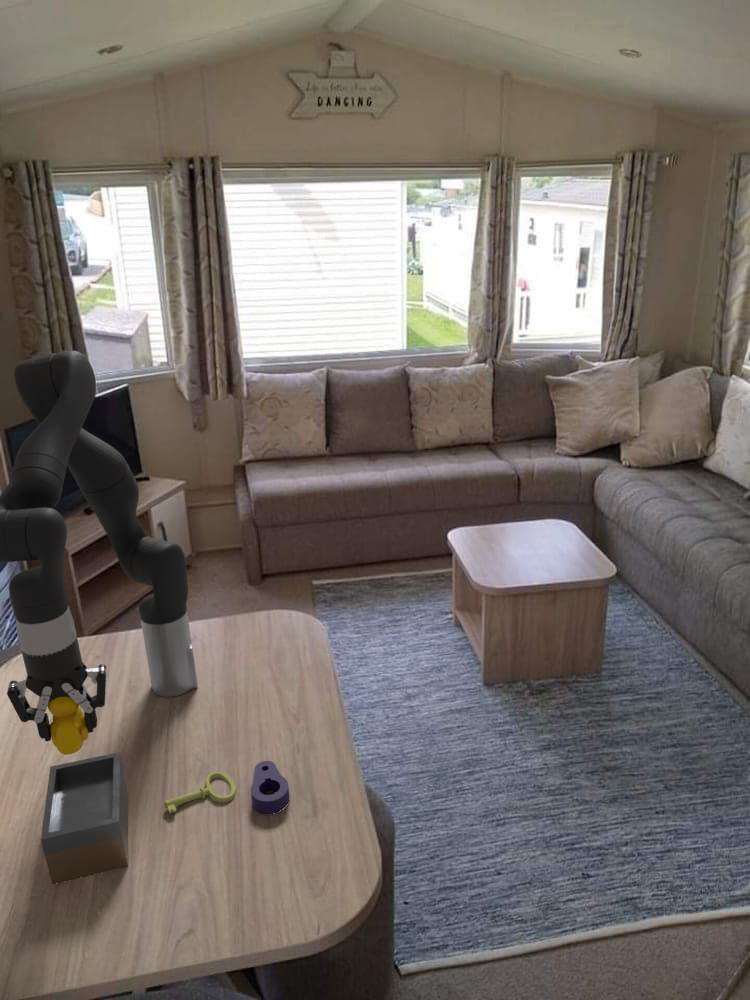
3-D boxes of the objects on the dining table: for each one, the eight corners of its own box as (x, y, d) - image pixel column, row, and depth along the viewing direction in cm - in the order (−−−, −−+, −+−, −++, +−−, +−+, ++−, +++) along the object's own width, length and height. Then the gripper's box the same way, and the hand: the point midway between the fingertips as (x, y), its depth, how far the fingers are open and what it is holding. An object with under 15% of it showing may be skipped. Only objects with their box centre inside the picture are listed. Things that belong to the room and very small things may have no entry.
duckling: (53, 723, 121) (40, 670, 117) (88, 714, 123) (77, 662, 119) (53, 770, 111) (39, 714, 108) (92, 760, 113) (80, 704, 109)
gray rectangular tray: (128, 793, 133) (119, 751, 129) (128, 866, 118) (119, 821, 115) (60, 809, 130) (50, 766, 126) (52, 885, 116) (40, 839, 112)
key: (161, 812, 129) (160, 802, 128) (220, 772, 138) (219, 763, 137) (187, 834, 125) (185, 824, 124) (246, 791, 133) (245, 782, 132)
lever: (292, 811, 128) (291, 796, 127) (254, 819, 127) (253, 804, 126) (281, 763, 139) (280, 749, 138) (246, 770, 138) (245, 756, 136)
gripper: (101, 616, 115) (119, 709, 122) (-2, 634, 111) (22, 728, 118) (100, 643, 108) (118, 739, 115) (-11, 662, 105) (15, 760, 111)
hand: (69, 733), depth 116 cm, fingers closed on duckling, 5 cm apart
